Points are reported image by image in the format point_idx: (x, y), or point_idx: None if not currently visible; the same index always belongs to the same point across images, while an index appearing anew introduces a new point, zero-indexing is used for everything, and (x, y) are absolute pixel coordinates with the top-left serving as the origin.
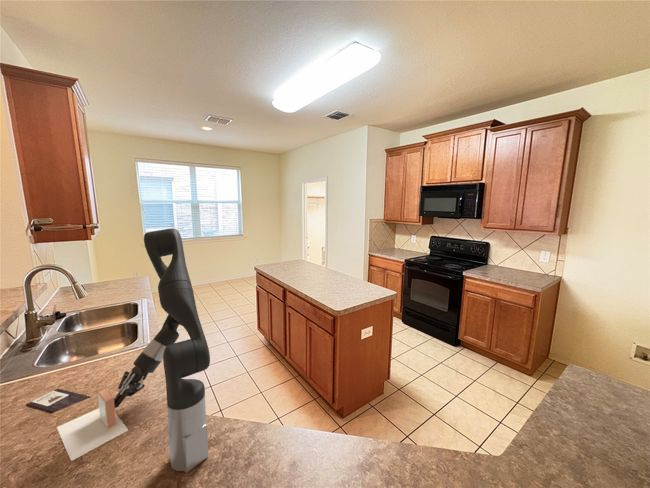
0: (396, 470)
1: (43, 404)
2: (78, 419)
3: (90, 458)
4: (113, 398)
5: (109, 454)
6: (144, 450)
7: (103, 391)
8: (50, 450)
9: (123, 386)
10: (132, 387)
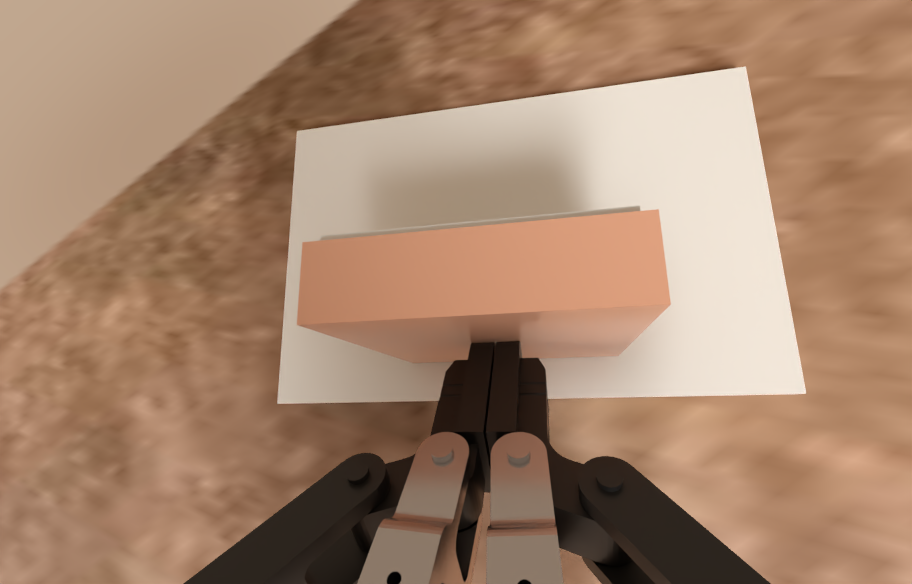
0: None
1: None
2: (730, 180)
3: (263, 208)
4: (299, 321)
5: (207, 280)
6: (74, 414)
7: (604, 263)
8: (516, 62)
9: (505, 515)
10: (227, 580)
